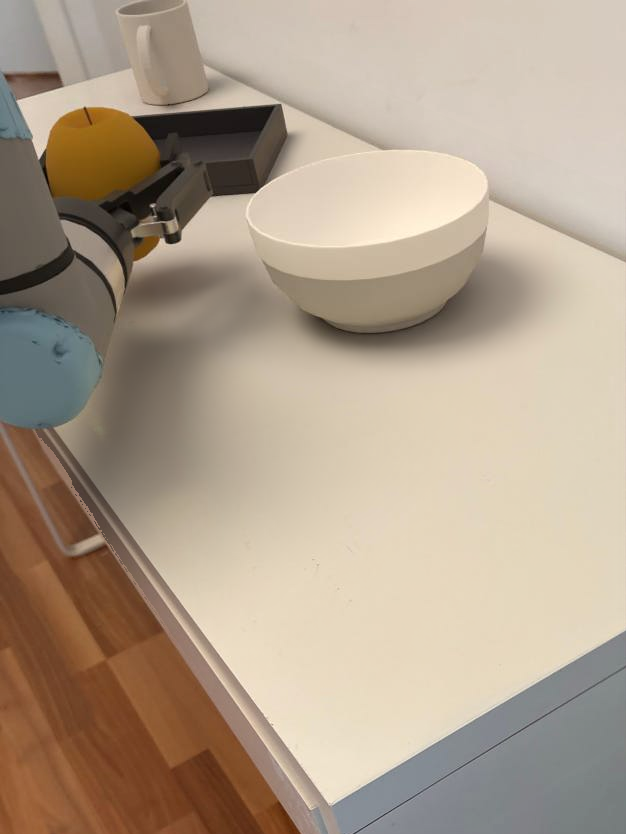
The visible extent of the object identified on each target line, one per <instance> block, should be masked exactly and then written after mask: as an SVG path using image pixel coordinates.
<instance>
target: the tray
mask: <svg viewBox="0 0 626 834" xmlns="http://www.w3.org/2000/svg"><path fill="white" fill-rule="evenodd" d="M130 116H131V117H132V118H133V119H134V120H135V121H136V122H138V123H139V124H140V125H141V126H142V127H143V128H144V129H145V131H146V132H147V133H148V135H149V136H150V138H151V139H152V140H153V142H154V143H155V145H156V146H157V148H158V150H159V152H160V154H161V155H162V152H163V149H164V146H165V143H166V140H167V137H168V134H169V133H178V137H179V140H180V144H181V147H182V151H183V153H187V154H188V155H189V158H190V161H191V163H192V162H194V161H204V162H205V166H206V169H207V173H208V177H209V181H210V184H211V188H212V192H213V195H212V196H211V197H214V196H228V195H240V194H252V193H253V194H255V193H257V192H258V191H259V190H260V189H261V188H262V187H264V186H265V185H266V181H267V179H268V178H269V175H270V173H271V171H272V168H273V167H274V164H275V162H276V160H277V158H278V156H279V154H280V151H281V149H282V147H283V145H284V143H285V141H286V138H287V137H288V130H287V129H288V128H287V123H286V119H285V114H284V109H283V105H282V103H272V104H261V105H248V106H236V107H235V106H234V107H226V108H225V107H223V108H213V109H212V108H211V109H201V110H190V111H188V110H187V111H178V112H177V111H176V112H165V113H153V114H142V115H141V114H140V115H130Z"/></svg>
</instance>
